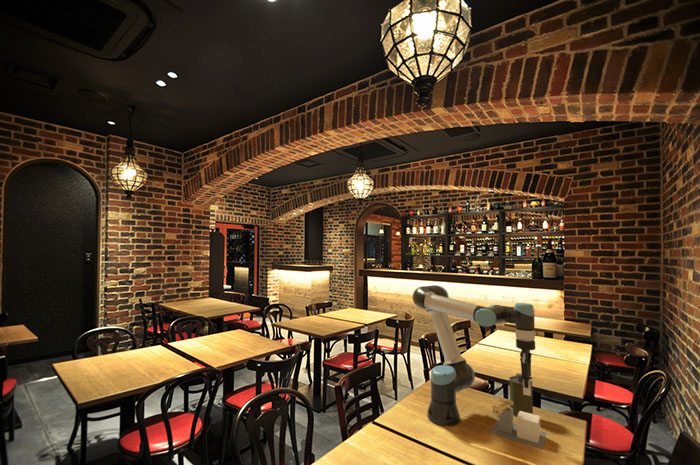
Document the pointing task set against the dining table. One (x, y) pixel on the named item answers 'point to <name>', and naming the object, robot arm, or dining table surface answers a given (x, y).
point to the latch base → (513, 430)
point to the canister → (520, 396)
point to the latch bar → (501, 407)
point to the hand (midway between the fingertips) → (527, 394)
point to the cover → (528, 426)
